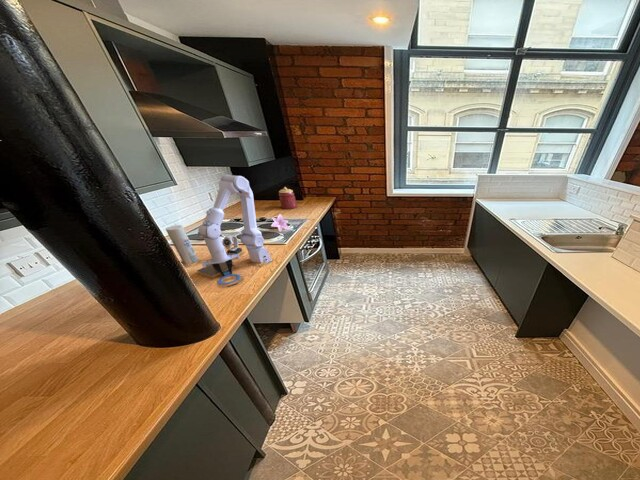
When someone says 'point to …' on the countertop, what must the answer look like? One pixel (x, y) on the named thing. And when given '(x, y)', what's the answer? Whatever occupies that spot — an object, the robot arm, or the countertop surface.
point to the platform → (213, 269)
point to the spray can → (182, 244)
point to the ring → (227, 274)
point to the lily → (280, 223)
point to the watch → (228, 243)
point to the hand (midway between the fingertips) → (227, 275)
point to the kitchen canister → (287, 198)
